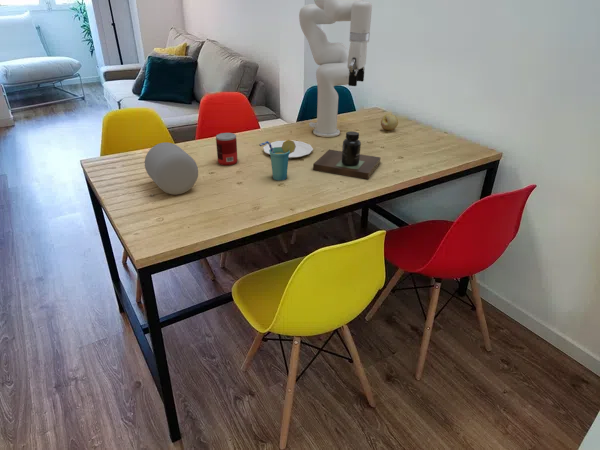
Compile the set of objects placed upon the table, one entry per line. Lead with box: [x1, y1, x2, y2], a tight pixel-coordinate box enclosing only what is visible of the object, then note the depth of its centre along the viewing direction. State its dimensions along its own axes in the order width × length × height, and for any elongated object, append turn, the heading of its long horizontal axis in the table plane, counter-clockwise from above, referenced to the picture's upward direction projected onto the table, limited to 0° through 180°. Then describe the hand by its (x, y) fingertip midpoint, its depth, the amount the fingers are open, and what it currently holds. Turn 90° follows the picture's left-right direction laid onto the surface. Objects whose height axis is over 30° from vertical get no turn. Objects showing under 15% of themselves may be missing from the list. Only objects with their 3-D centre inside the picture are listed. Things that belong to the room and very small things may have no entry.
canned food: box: [215, 132, 238, 167], centre depth 177 cm, size 8×8×11 cm
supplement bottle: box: [341, 130, 362, 166], centre depth 170 cm, size 7×7×12 cm
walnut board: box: [312, 149, 381, 180], centre depth 177 cm, size 22×18×3 cm
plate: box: [262, 139, 314, 159], centre depth 191 cm, size 21×21×2 cm
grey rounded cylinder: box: [144, 142, 199, 196], centre depth 157 cm, size 19×15×25 cm
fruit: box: [380, 113, 399, 132], centre depth 217 cm, size 8×8×8 cm
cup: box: [259, 139, 296, 181], centre depth 163 cm, size 14×8×15 cm, turn 122°
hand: (356, 83), depth 180 cm, fingers open, 9 cm apart
